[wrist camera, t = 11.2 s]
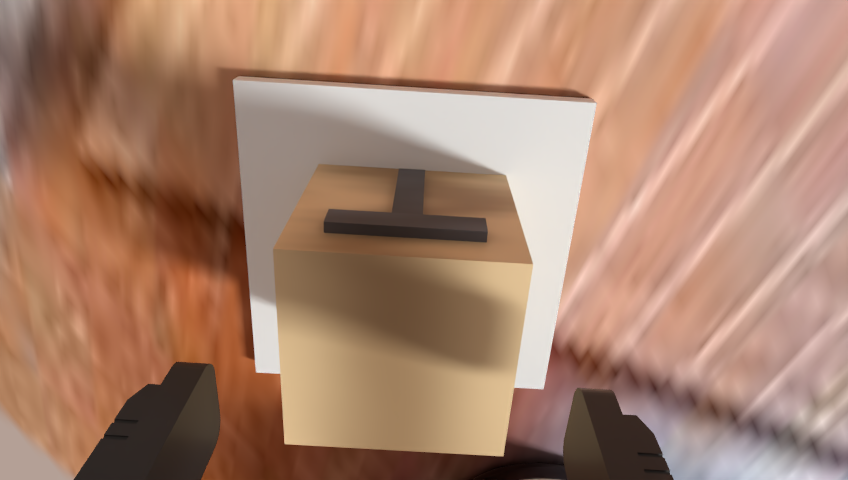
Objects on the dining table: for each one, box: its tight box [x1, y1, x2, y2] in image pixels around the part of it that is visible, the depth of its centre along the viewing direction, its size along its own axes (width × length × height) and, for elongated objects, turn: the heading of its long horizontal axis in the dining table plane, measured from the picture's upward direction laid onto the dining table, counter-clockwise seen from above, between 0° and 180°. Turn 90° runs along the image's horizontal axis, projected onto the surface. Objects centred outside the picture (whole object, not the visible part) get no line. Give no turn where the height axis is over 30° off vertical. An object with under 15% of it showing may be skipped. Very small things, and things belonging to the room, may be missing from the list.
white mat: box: [233, 76, 597, 389], centre depth 21 cm, size 11×11×1 cm
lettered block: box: [273, 164, 533, 456], centre depth 18 cm, size 6×7×6 cm
